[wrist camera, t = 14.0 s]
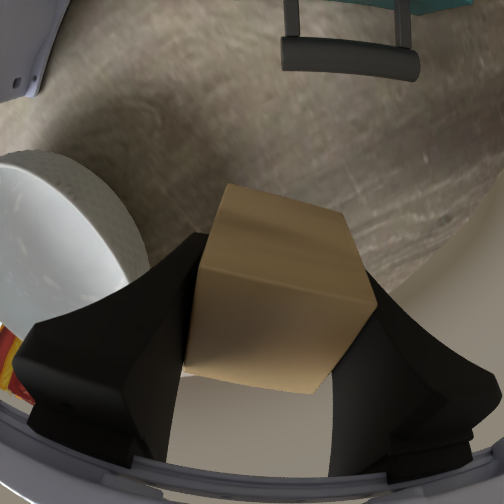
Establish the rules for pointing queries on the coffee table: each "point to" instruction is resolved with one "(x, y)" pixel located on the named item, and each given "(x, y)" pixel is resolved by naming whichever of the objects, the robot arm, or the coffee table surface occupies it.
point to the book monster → (3, 377)
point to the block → (276, 294)
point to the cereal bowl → (60, 239)
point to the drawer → (359, 43)
